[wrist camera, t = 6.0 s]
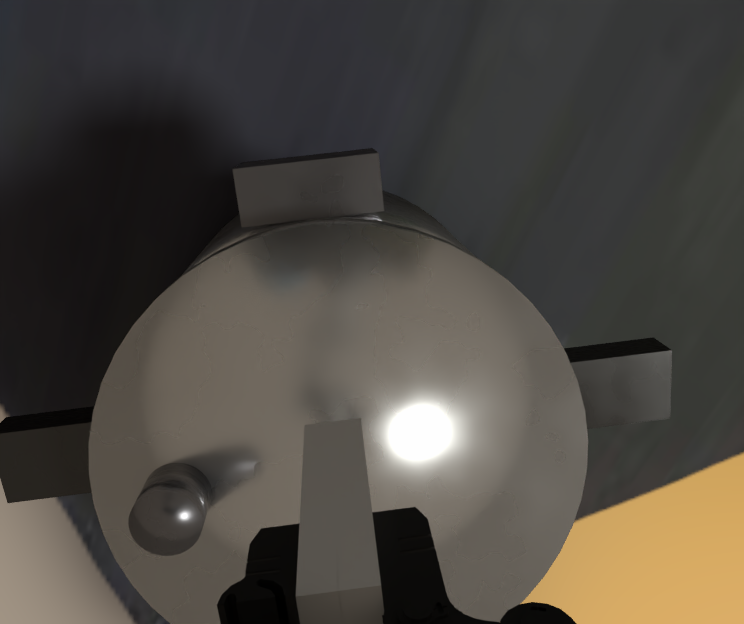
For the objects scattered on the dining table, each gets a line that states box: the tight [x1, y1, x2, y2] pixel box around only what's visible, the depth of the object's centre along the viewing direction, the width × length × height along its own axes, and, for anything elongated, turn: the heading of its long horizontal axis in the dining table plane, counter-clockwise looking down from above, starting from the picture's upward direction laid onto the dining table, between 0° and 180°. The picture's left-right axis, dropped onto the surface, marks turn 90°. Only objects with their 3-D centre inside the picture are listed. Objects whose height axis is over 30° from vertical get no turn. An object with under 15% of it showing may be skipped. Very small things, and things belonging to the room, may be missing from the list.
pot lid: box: [89, 219, 588, 624], centre depth 25 cm, size 22×18×3 cm
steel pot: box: [0, 148, 672, 503], centre depth 32 cm, size 19×27×12 cm
